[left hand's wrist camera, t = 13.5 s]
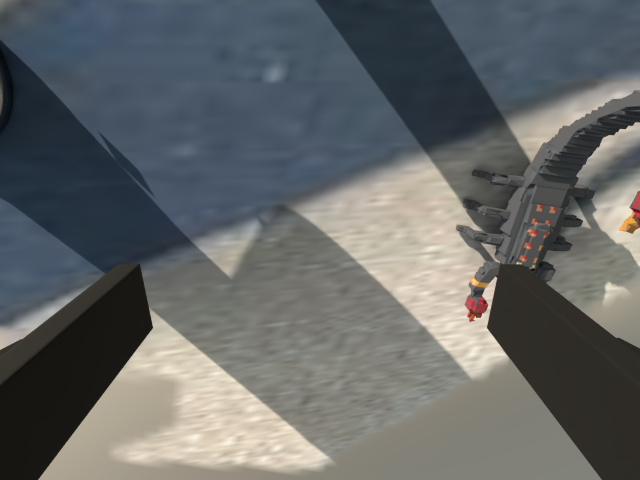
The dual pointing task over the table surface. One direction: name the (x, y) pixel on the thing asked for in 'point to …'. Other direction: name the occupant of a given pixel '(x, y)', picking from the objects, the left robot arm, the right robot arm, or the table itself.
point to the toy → (546, 198)
